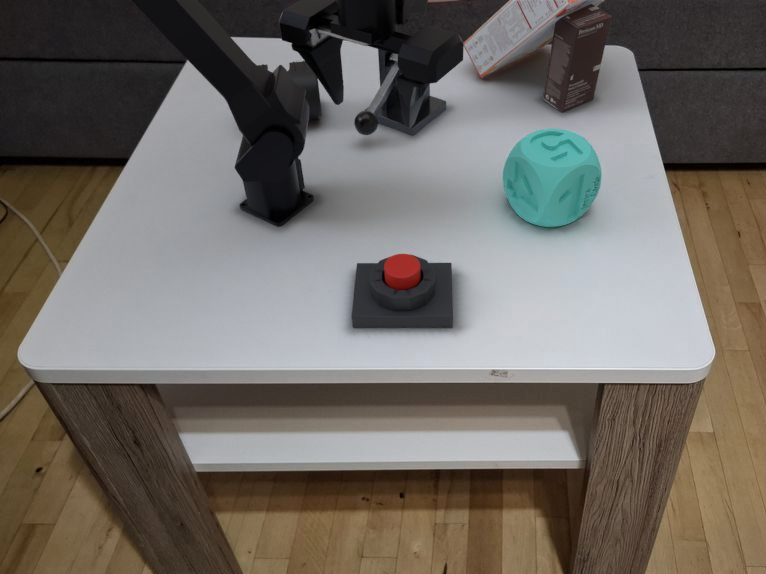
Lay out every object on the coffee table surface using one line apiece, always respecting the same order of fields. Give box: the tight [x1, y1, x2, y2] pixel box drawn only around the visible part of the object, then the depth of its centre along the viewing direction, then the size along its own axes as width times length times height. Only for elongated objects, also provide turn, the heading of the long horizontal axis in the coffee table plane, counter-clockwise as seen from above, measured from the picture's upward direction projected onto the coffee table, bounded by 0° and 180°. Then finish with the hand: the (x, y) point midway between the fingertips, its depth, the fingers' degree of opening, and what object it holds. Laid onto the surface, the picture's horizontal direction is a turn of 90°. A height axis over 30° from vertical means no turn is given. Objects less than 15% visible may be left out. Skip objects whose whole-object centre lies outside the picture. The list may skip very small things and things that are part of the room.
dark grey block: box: [256, 60, 323, 121], centre depth 100 cm, size 10×7×7 cm
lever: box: [353, 53, 402, 136], centre depth 96 cm, size 13×3×3 cm, turn 145°
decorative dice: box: [502, 128, 602, 228], centre depth 85 cm, size 8×8×8 cm
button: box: [384, 253, 421, 290], centre depth 75 cm, size 4×4×2 cm
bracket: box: [363, 49, 447, 137], centre depth 99 cm, size 8×8×10 cm
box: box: [542, 4, 613, 113], centre depth 99 cm, size 6×4×12 cm
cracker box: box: [463, 0, 605, 79], centre depth 102 cm, size 14×6×21 cm
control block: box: [351, 254, 454, 329], centre depth 77 cm, size 10×8×4 cm
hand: (373, 114), depth 81 cm, fingers open, 9 cm apart
